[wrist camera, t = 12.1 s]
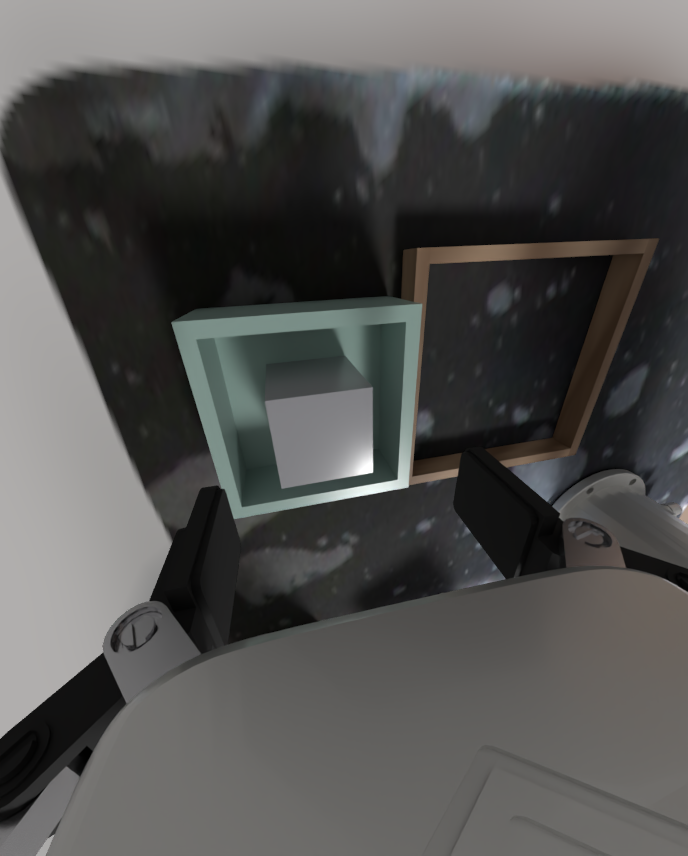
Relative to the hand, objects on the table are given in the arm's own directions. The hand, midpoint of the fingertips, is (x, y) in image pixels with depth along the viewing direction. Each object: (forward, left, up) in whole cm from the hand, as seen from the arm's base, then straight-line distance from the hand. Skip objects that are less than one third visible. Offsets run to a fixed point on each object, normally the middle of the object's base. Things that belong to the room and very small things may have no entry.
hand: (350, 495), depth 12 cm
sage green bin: (+1, 0, -11) cm, 11 cm away
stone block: (0, 0, -10) cm, 10 cm away
